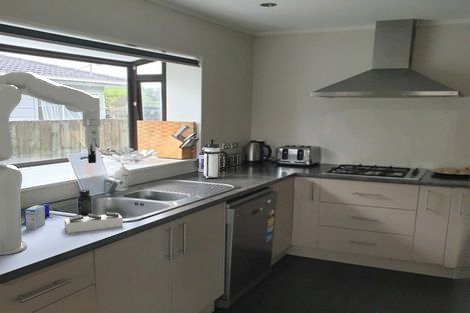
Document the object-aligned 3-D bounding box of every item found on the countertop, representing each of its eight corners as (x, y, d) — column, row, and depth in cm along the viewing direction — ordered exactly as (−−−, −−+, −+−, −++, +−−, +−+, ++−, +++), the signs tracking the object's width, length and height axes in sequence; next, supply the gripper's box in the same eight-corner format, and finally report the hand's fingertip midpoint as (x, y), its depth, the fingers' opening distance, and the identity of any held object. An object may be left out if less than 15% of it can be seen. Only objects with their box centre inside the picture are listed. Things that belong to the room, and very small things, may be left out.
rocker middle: (88, 217, 169) (89, 214, 169) (87, 215, 172) (88, 213, 172) (100, 219, 172) (101, 217, 172) (99, 217, 174) (100, 215, 175)
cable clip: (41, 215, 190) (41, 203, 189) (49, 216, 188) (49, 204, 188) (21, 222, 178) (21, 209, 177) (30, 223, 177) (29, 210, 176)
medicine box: (35, 223, 176) (35, 205, 175) (45, 224, 176) (44, 205, 175) (25, 229, 168) (25, 209, 167) (36, 229, 168) (35, 209, 167)
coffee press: (214, 180, 292) (215, 140, 288) (197, 178, 300) (198, 139, 297) (227, 177, 306) (228, 139, 303) (211, 175, 315) (212, 138, 311)
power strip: (67, 233, 165) (67, 223, 164) (64, 227, 172) (64, 218, 171) (122, 226, 176) (122, 217, 176) (118, 221, 183) (118, 212, 182)
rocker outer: (106, 216, 173) (107, 213, 173) (105, 214, 176) (105, 212, 176) (118, 216, 176) (118, 214, 175) (116, 214, 178) (117, 212, 178)
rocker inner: (70, 222, 166) (70, 219, 165) (69, 220, 168) (69, 217, 168) (83, 218, 168) (82, 216, 168) (82, 216, 171) (81, 214, 171)
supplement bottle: (74, 214, 192) (73, 190, 191) (84, 211, 198) (84, 188, 197) (84, 216, 189) (84, 192, 188) (95, 213, 196) (94, 189, 194)
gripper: (103, 123, 175) (103, 164, 177) (96, 122, 188) (97, 160, 190) (85, 123, 171) (86, 165, 173) (80, 122, 184) (80, 161, 186)
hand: (92, 162), depth 182 cm, fingers closed
